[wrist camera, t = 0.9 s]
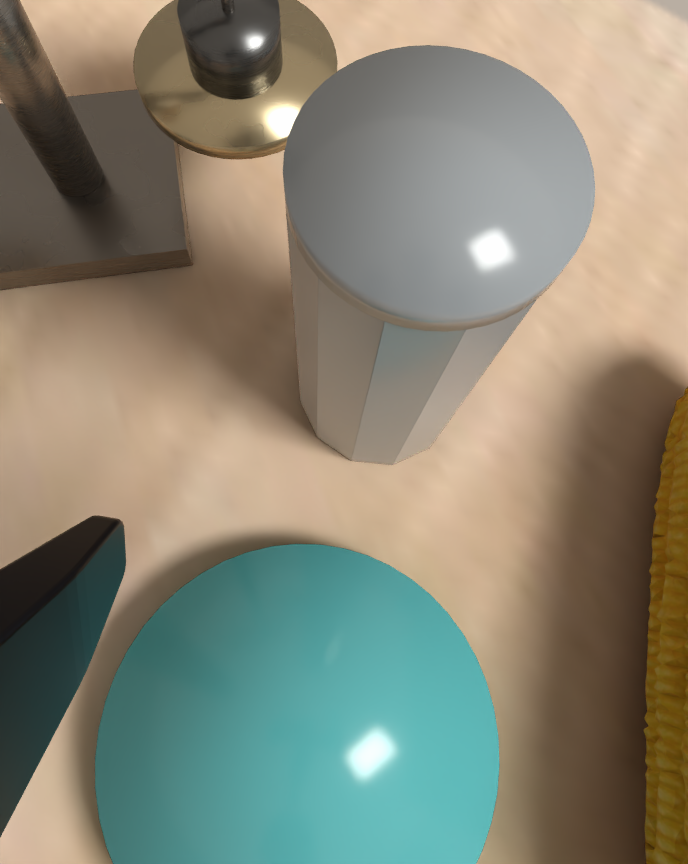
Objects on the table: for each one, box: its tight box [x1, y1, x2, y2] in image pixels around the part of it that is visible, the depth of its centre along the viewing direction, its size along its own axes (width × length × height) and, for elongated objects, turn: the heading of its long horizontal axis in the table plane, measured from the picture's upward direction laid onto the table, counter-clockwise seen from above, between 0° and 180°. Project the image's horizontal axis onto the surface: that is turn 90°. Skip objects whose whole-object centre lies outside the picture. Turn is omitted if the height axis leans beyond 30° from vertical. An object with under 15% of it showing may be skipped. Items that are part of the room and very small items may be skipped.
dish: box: [95, 544, 499, 864], centre depth 21 cm, size 13×13×1 cm
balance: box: [0, 0, 337, 290], centre depth 19 cm, size 21×8×15 cm, turn 100°
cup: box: [283, 45, 595, 465], centre depth 19 cm, size 6×6×13 cm
